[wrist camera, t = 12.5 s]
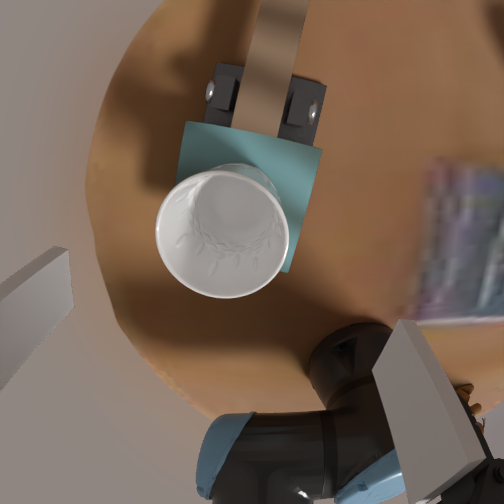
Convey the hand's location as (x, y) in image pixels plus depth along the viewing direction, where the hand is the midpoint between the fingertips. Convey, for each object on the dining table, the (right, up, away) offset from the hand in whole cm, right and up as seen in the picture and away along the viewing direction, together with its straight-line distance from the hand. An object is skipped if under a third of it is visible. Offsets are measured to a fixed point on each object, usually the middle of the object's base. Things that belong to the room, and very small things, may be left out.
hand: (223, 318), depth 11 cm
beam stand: (+2, +18, +19) cm, 27 cm away
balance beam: (+2, +17, +13) cm, 22 cm away
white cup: (0, +7, +16) cm, 17 cm away
